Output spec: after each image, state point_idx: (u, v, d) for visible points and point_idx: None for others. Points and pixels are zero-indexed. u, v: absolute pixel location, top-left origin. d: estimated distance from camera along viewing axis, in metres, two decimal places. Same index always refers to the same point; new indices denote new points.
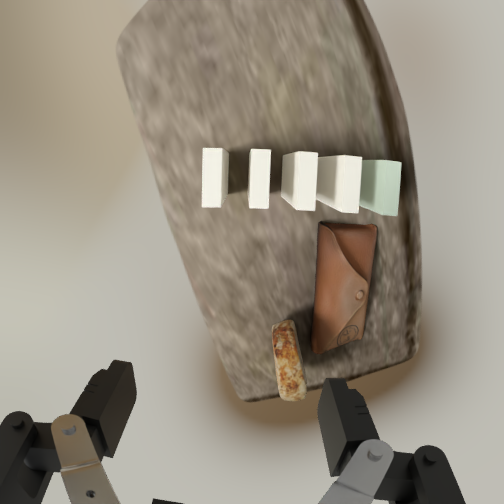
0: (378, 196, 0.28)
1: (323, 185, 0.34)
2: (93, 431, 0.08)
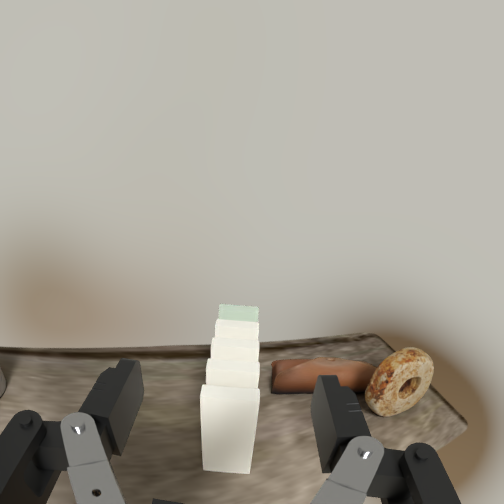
0: (245, 319, 0.41)
1: None
2: (102, 429, 0.08)
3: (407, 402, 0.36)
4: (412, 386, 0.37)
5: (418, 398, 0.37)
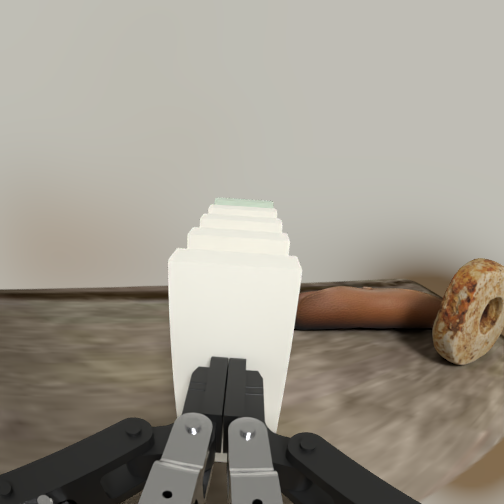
0: None
1: None
2: (214, 427, 0.09)
3: (486, 341, 0.23)
4: (490, 316, 0.24)
5: (496, 337, 0.24)
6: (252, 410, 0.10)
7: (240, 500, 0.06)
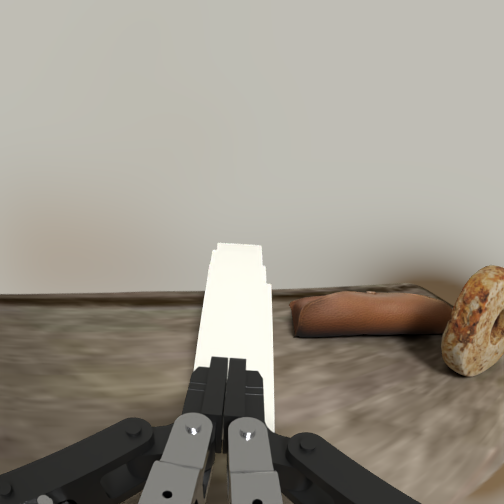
0: None
1: None
2: (214, 427, 0.09)
3: (495, 351, 0.22)
4: (501, 325, 0.22)
5: None
6: (252, 410, 0.10)
7: (240, 500, 0.06)
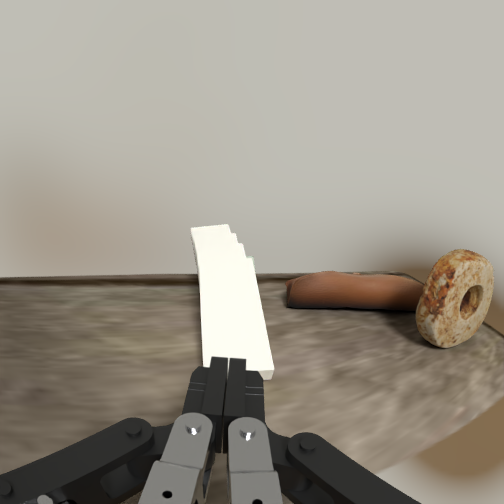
0: None
1: None
2: (214, 427, 0.09)
3: (468, 326, 0.27)
4: (472, 303, 0.27)
5: (478, 324, 0.27)
6: (252, 410, 0.10)
7: (240, 500, 0.06)
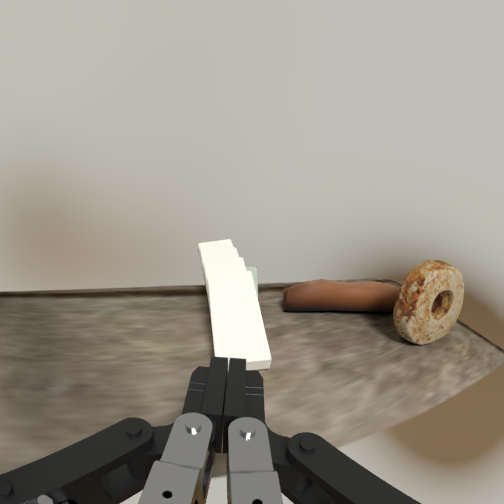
0: (247, 268, 0.53)
1: None
2: (214, 427, 0.09)
3: (440, 326, 0.33)
4: (444, 306, 0.33)
5: (451, 323, 0.33)
6: (252, 410, 0.10)
7: (240, 500, 0.06)
